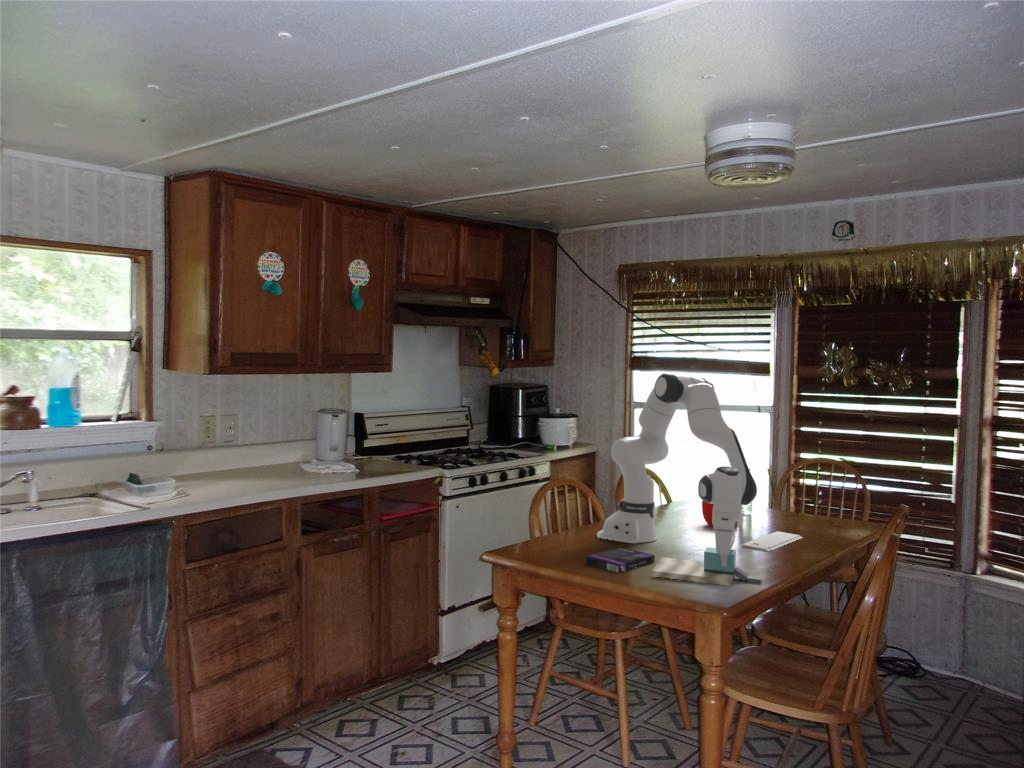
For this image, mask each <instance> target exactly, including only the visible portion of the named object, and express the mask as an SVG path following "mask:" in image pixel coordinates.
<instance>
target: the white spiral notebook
mask: <svg viewBox="0 0 1024 768" xmlns="http://www.w3.org/2000/svg"><path fill="white" fill-rule="evenodd" d="M803 537H804V536H801V534H794V533H791V532H789V533H787V532H783V531H779V530H777V531H775V532H772V533H769V534H766V535H763V536H760V537H758V538H755V539H753V540H750V541H747V542H743V541H742V542H741V547H742V546H743V547H742V548H745V547H747V548H746V549H750V548H753V549H752V550H756V549H758V550H757V551H761V550H763V551H762V552H766V551H768V552H767V553H772V552H773V551H775V550H777V548H778V549H780V548H783V547H785V546H787V544H788V545H790V544H793V543H795V542H797V541H796V540H798V541H800V540H802V539H804V538H803ZM801 538H802V539H801ZM799 539H800V540H799ZM794 541H795V542H794ZM792 542H793V543H792ZM789 543H790V544H789ZM784 545H785V546H784ZM782 546H783V547H782ZM779 547H780V548H779ZM772 550H773V551H772Z"/></svg>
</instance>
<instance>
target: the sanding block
mask: <svg viewBox="0 0 1024 768" xmlns="http://www.w3.org/2000/svg"><path fill="white" fill-rule="evenodd" d="M736 550H737V549H731V551H730V553H729V555H728V558H727V560H728V561H727V566H726V567H723V566H721V557H720V555H718V554H717V551H716V547H710V546H709V547H708V546H707V547H706V548H705V550H704V552H703V562H704V571H710V572H720V573H729V574H734V571H735V566H736V567H737V565H736V559H737V558H736V555H737V552H736Z"/></svg>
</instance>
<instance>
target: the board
mask: <svg viewBox="0 0 1024 768" xmlns="http://www.w3.org/2000/svg"><path fill="white" fill-rule="evenodd" d="M736 568H737V565H736V566H735V569H736ZM655 577H662V578H661V579H664V578H670V579H669V580H672V579H679V580H678V581H681V580H688V581H687V582H689V581H695V582H694V583H698V582H703V583H702V584H706V583H712V584H711V585H714V584H719V585H718V586H723V585H727V586H726V587H731V586H732V584H731V583H733V580H734V579H735V577H736V576H735V575H733V574H729V573H720V572H710V571H704V561H699V560H690V559H679V558H671V557H661V558H660V560H659V561H658V562H657V564H656V565H655V566H654V568H652V570H651V578H655ZM733 578H734V579H733Z"/></svg>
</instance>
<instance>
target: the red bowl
mask: <svg viewBox="0 0 1024 768" xmlns="http://www.w3.org/2000/svg"><path fill="white" fill-rule="evenodd" d="M713 506H714V504H710V503H706V502H704V501H703V500H702V501H701V509H702V510H701V511H702V516H703V519H704V521H705V522H706V524H707V525H708V527H710V526H711V527H710V528H712V527H713V524H712V515H713Z"/></svg>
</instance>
